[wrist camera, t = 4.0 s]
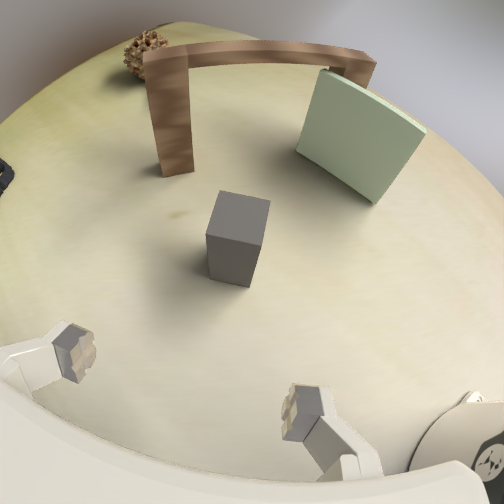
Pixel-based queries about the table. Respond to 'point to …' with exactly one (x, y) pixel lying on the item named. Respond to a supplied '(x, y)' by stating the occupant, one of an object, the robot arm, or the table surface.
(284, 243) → the table surface
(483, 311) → the table surface
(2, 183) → the dark slate chunk
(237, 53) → the door frame
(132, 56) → the dried seed pod
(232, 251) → the gray rectangular block
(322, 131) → the door
